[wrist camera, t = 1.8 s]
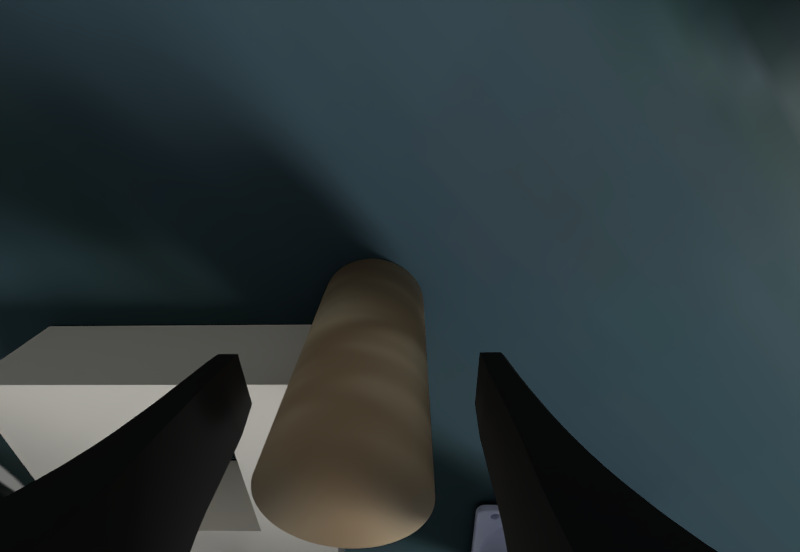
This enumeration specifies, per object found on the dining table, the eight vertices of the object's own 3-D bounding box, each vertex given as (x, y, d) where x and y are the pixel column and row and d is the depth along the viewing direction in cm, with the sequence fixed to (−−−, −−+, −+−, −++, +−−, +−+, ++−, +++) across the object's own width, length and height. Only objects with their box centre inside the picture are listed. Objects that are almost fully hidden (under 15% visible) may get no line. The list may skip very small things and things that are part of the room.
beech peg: (423, 258, 14) (437, 435, 7) (423, 342, 16) (434, 549, 9) (318, 259, 14) (231, 434, 7) (330, 343, 16) (269, 547, 9)
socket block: (327, 324, 16) (307, 384, 13) (351, 499, 21) (341, 570, 18) (49, 326, 16) (-36, 385, 13) (144, 497, 22) (100, 567, 19)
